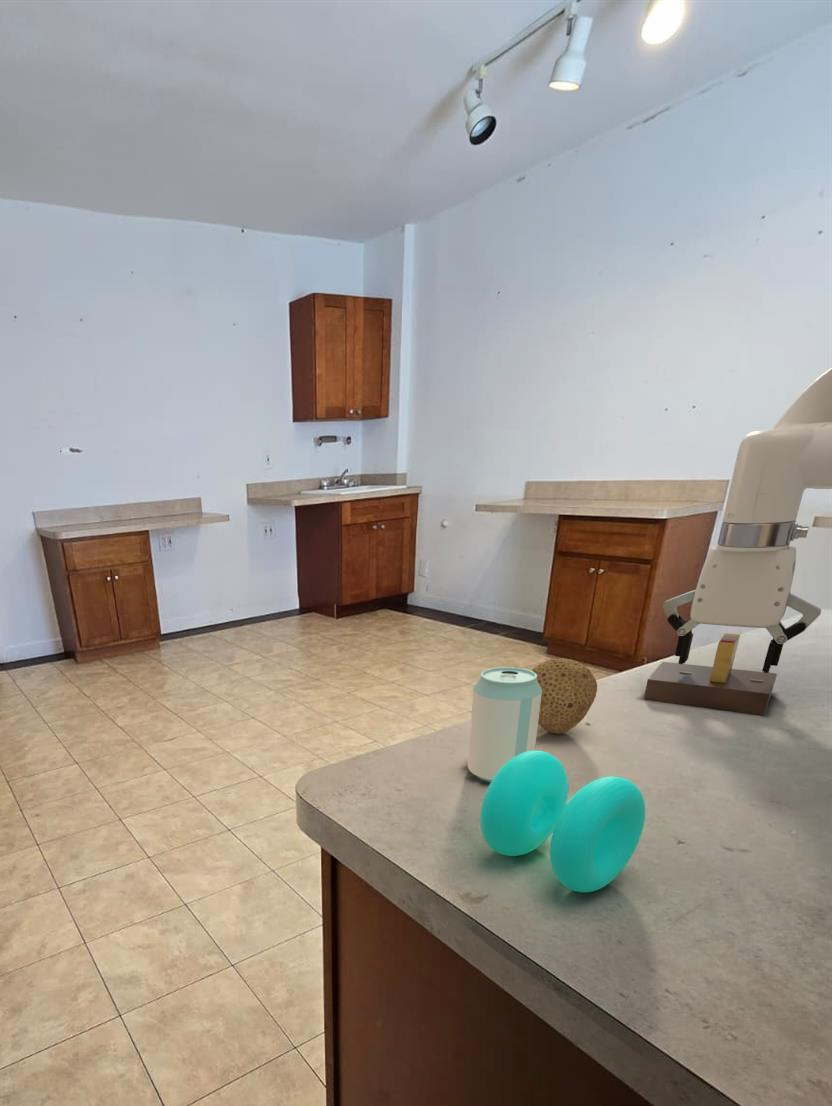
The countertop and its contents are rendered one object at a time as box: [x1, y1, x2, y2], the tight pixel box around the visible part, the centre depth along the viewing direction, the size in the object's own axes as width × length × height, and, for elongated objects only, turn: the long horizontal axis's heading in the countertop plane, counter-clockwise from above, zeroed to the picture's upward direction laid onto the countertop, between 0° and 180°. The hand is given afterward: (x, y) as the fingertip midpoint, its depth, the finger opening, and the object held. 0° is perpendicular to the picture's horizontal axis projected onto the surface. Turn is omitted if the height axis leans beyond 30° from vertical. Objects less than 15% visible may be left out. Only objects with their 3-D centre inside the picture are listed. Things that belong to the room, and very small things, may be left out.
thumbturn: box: [710, 633, 741, 683], centre depth 88 cm, size 6×2×6 cm, turn 140°
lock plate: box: [643, 661, 778, 716], centre depth 91 cm, size 14×10×3 cm
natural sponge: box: [530, 657, 598, 735], centre depth 82 cm, size 9×9×10 cm
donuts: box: [479, 749, 646, 893], centre depth 55 cm, size 10×10×10 cm
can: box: [467, 666, 542, 783], centre depth 72 cm, size 7×7×12 cm
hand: (723, 665), depth 89 cm, fingers open, 9 cm apart
